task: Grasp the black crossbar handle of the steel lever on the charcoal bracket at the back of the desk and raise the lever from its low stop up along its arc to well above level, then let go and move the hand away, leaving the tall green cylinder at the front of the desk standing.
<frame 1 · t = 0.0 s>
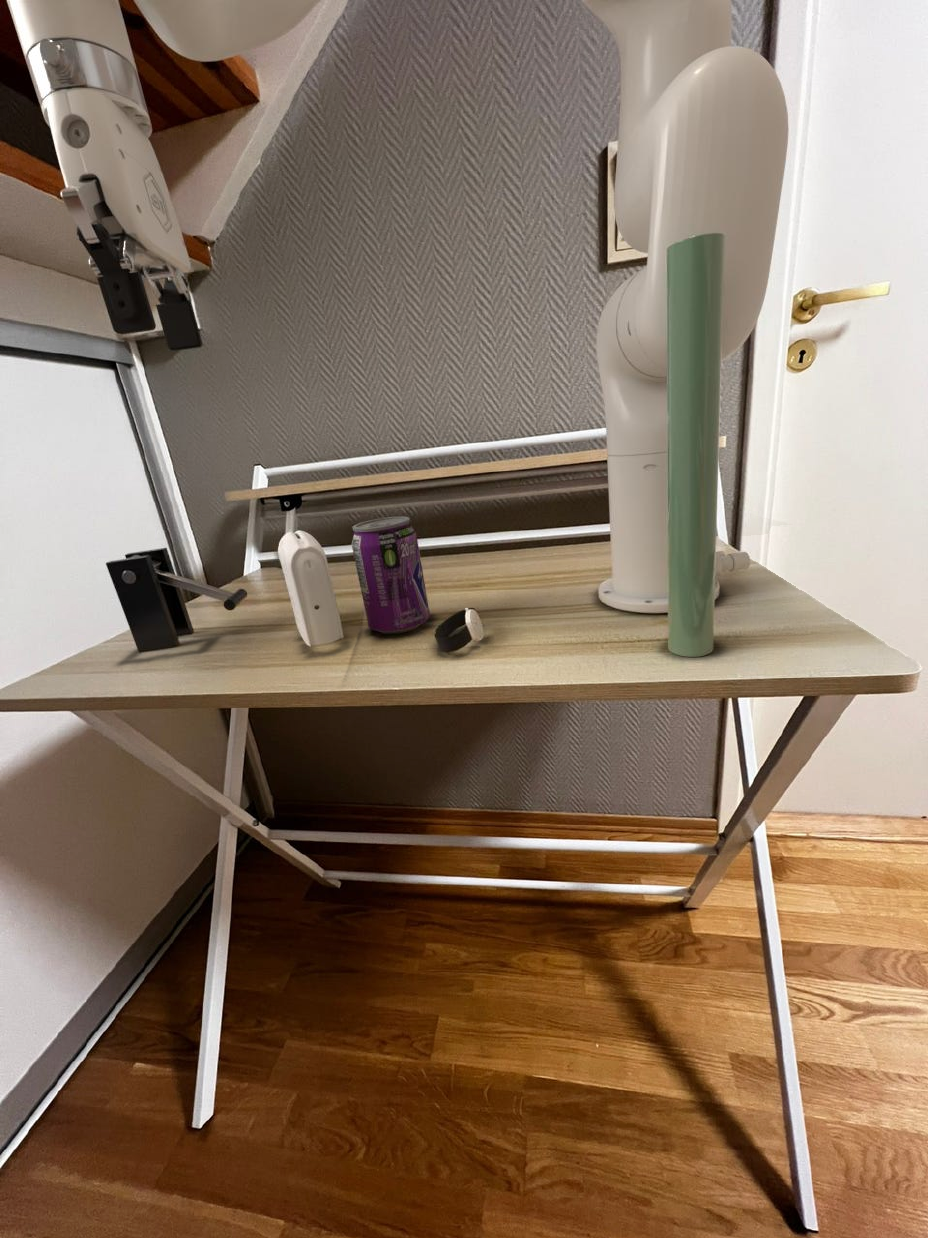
hand: (163, 340, 48), 31 cm above the table, tool pointing down, fingers open, 9 cm apart
beverage can: (400, 627, 62), on the table
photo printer: (322, 640, 61), on the table
watch: (460, 643, 55), on the table
lever: (186, 584, 62), point 8 cm above the table, hinge at -28.0°
bracket: (170, 650, 64), on the table
tall green cylinder: (690, 648, 46), on the table
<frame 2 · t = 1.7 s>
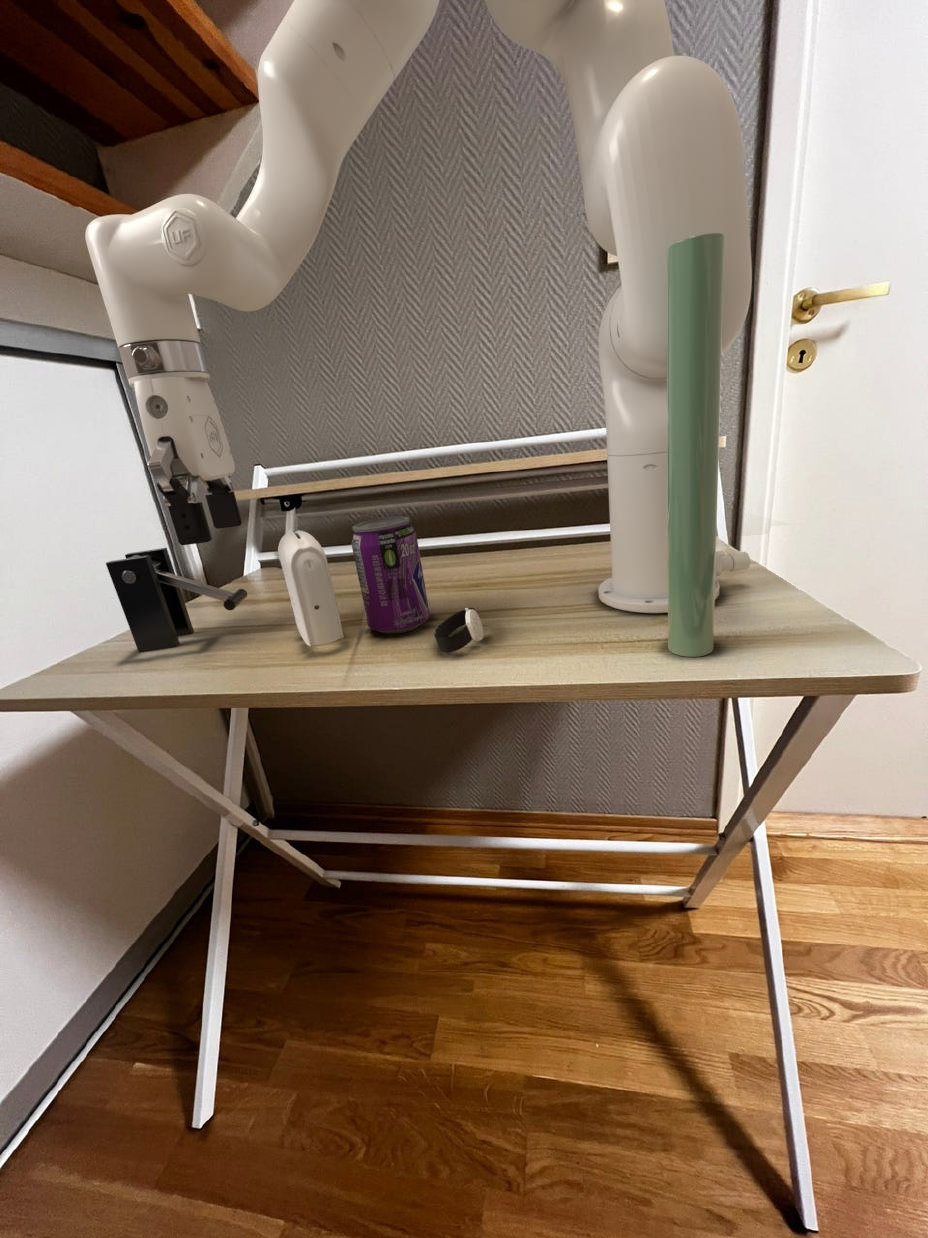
hand: (213, 534, 60), 13 cm above the table, tool pointing down, fingers open, 9 cm apart
nothing on the table moved.
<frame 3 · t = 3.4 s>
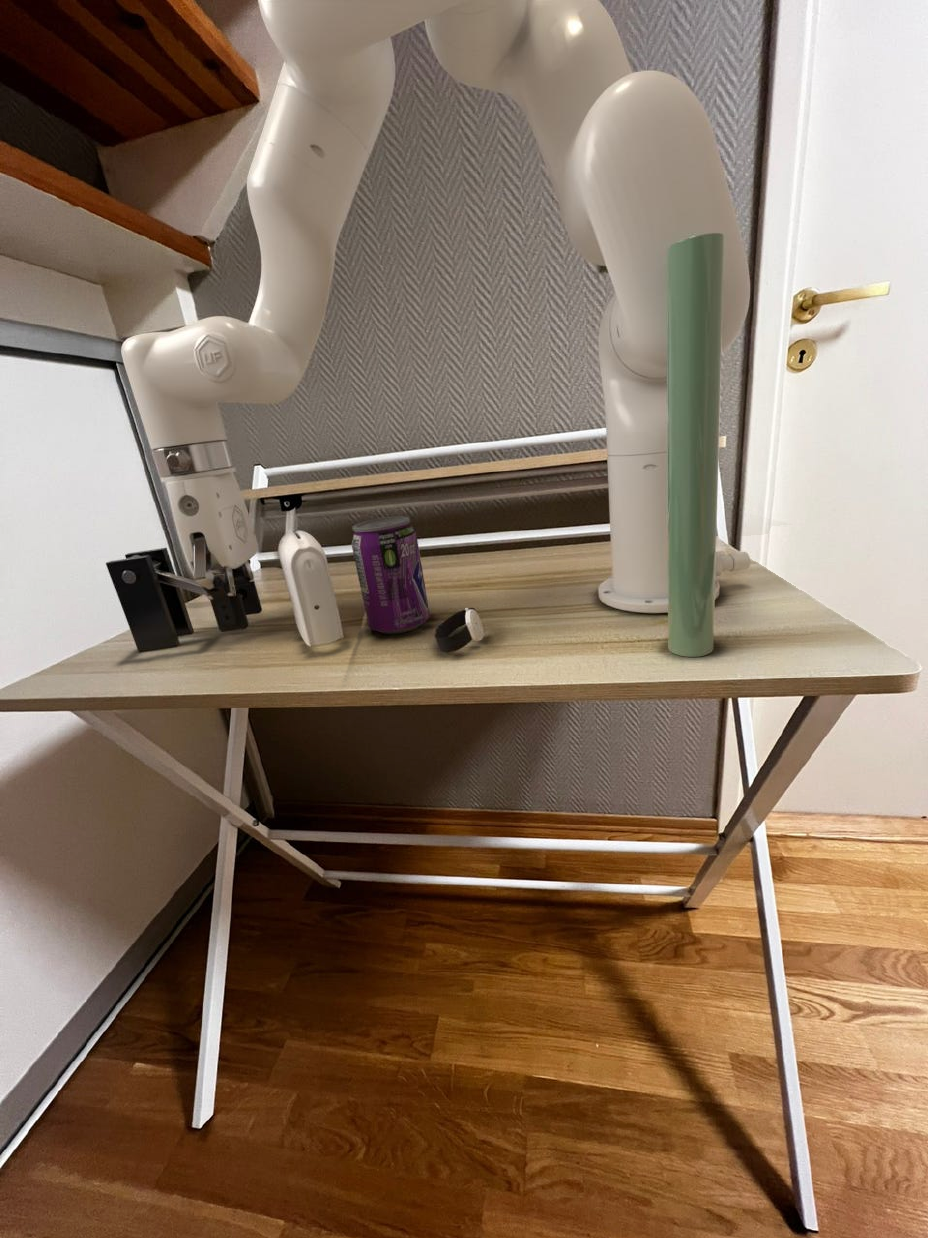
hand: (241, 619, 64), 2 cm above the table, tool pointing down, fingers closed on lever, 4 cm apart
lever: (186, 584, 62), point 8 cm above the table, hinge at -28.0°, touching gripper
everything else where it was.
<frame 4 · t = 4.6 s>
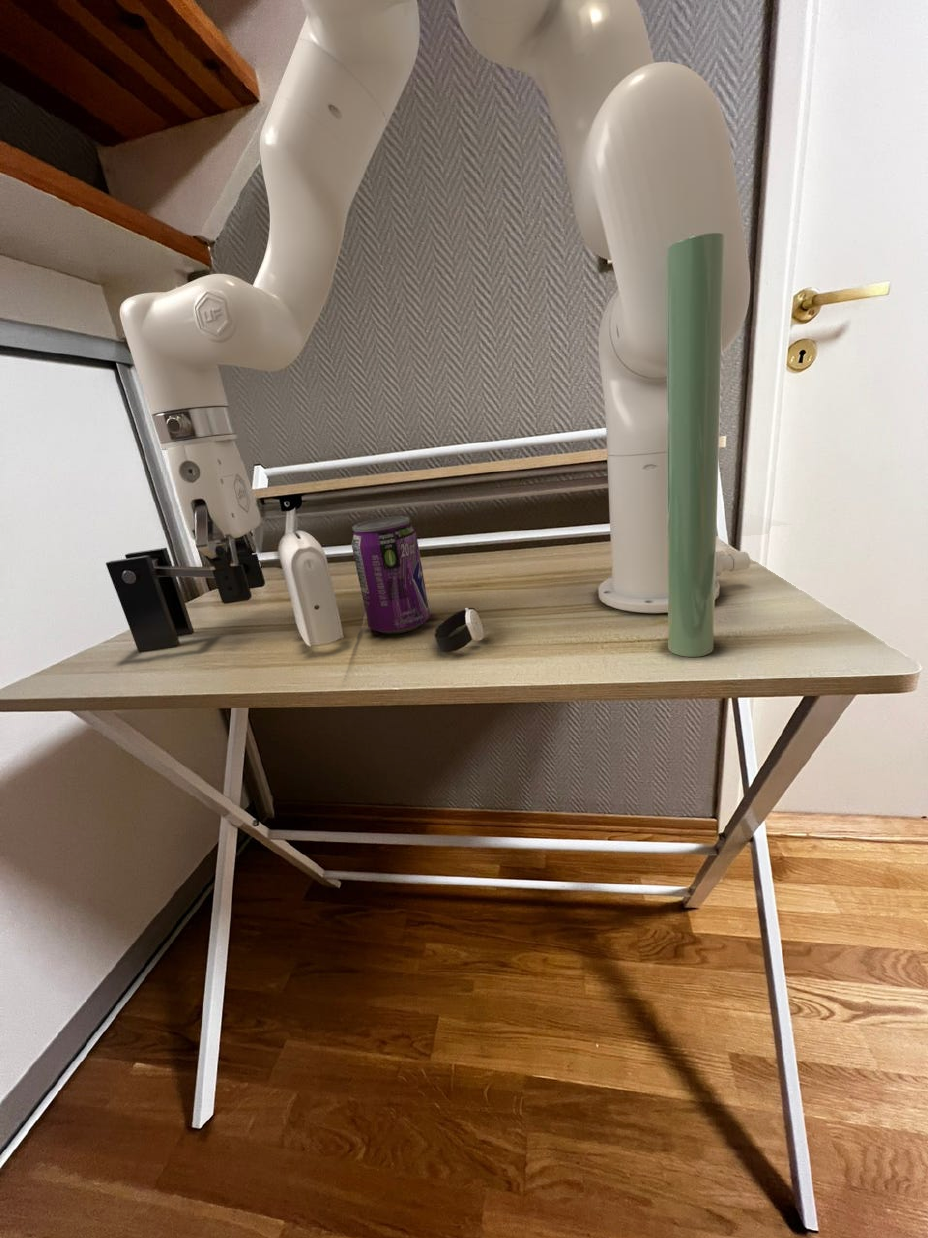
hand: (244, 592, 63), 6 cm above the table, tool pointing down, fingers closed on lever, 4 cm apart
lever: (187, 571, 61), point 9 cm above the table, hinge at -10.4°, touching gripper
everything else where it was.
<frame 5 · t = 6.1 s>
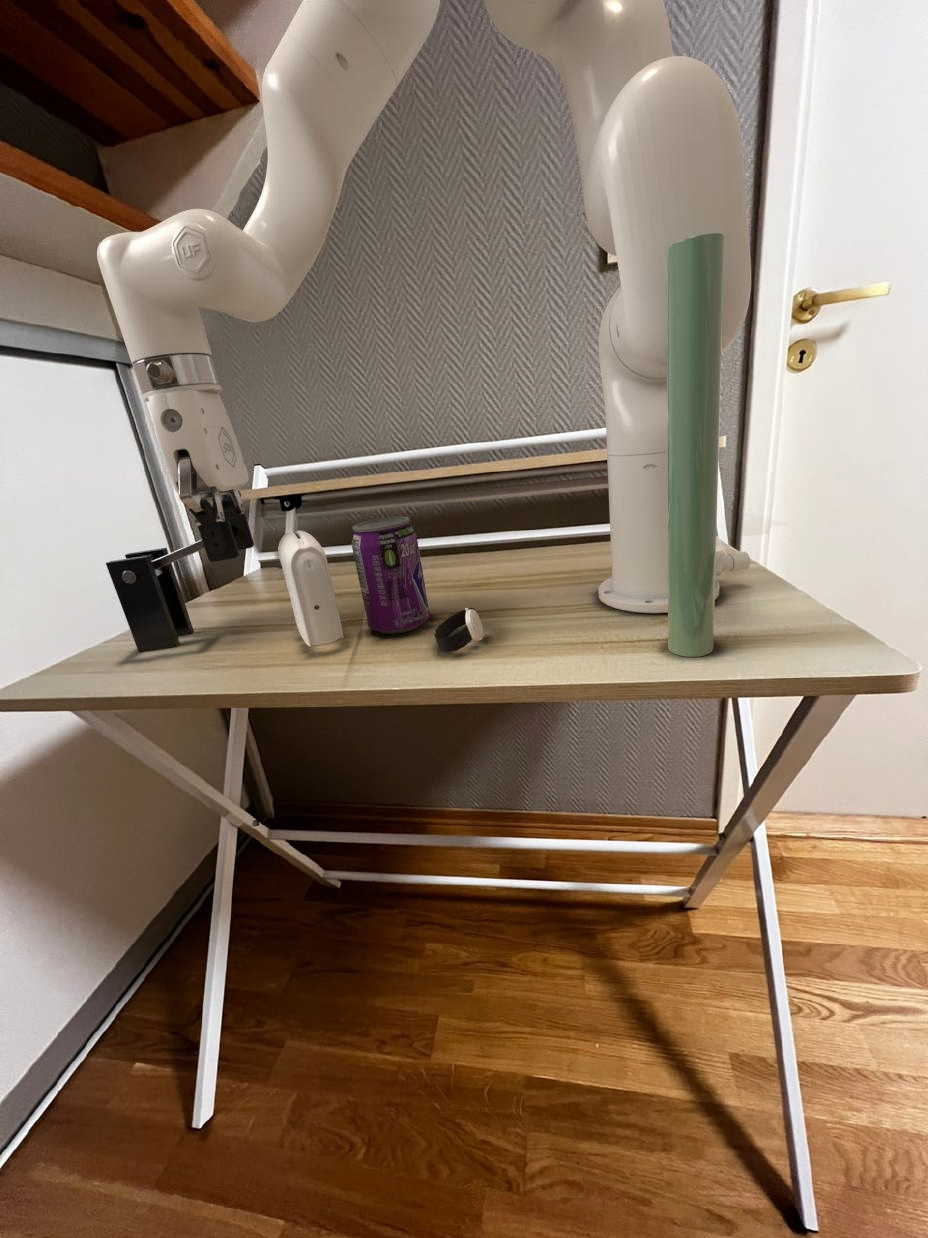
hand: (232, 552, 61), 11 cm above the table, tool pointing down, fingers closed on lever, 4 cm apart
lever: (180, 553, 61), point 11 cm above the table, hinge at 14.6°, touching gripper
everything else where it was.
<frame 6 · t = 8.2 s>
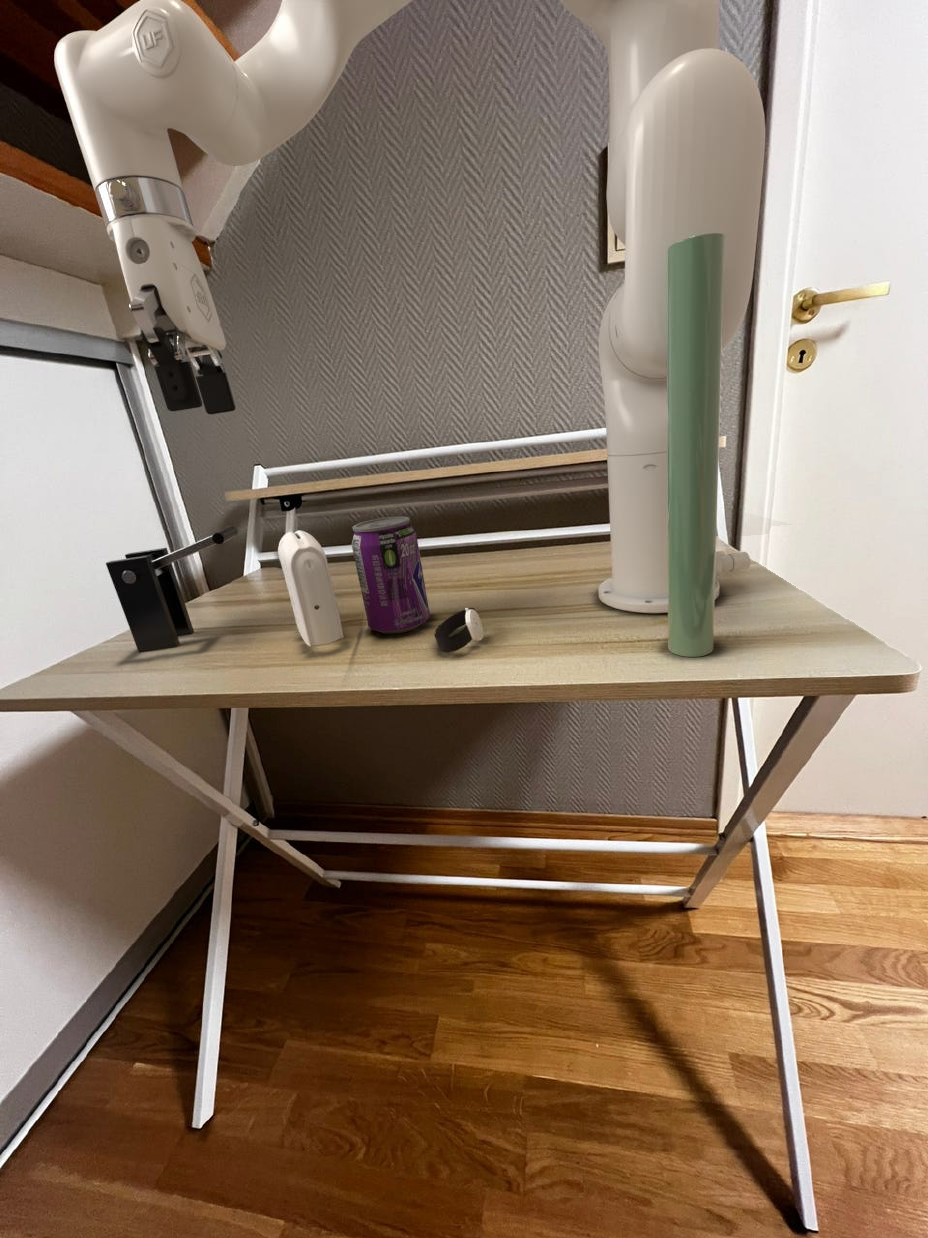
hand: (205, 410, 56), 26 cm above the table, tool pointing down, fingers open, 9 cm apart
lever: (180, 553, 61), point 11 cm above the table, hinge at 14.4°
everything else where it was.
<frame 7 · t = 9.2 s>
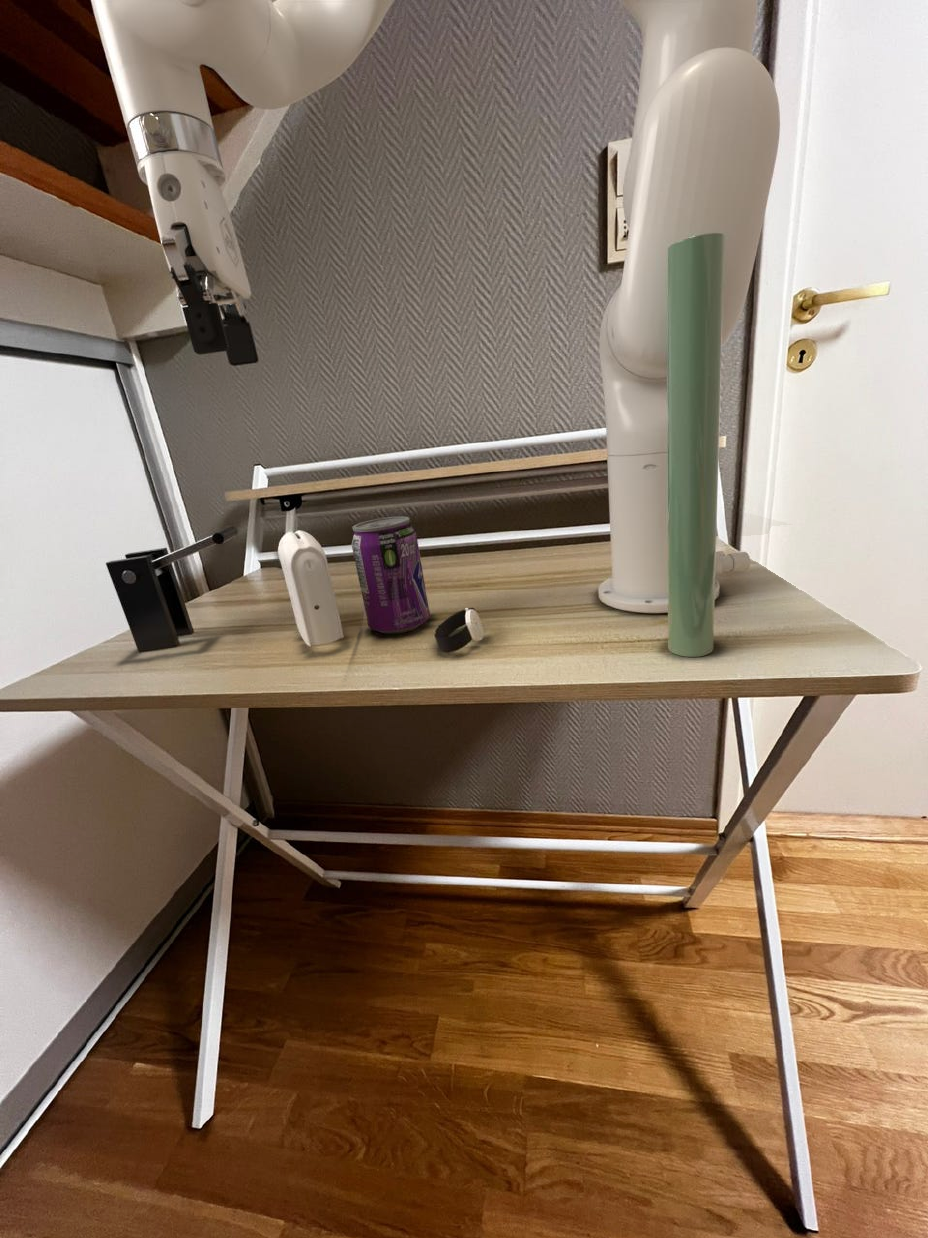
hand: (229, 358, 56), 30 cm above the table, tool pointing down, fingers open, 9 cm apart
nothing on the table moved.
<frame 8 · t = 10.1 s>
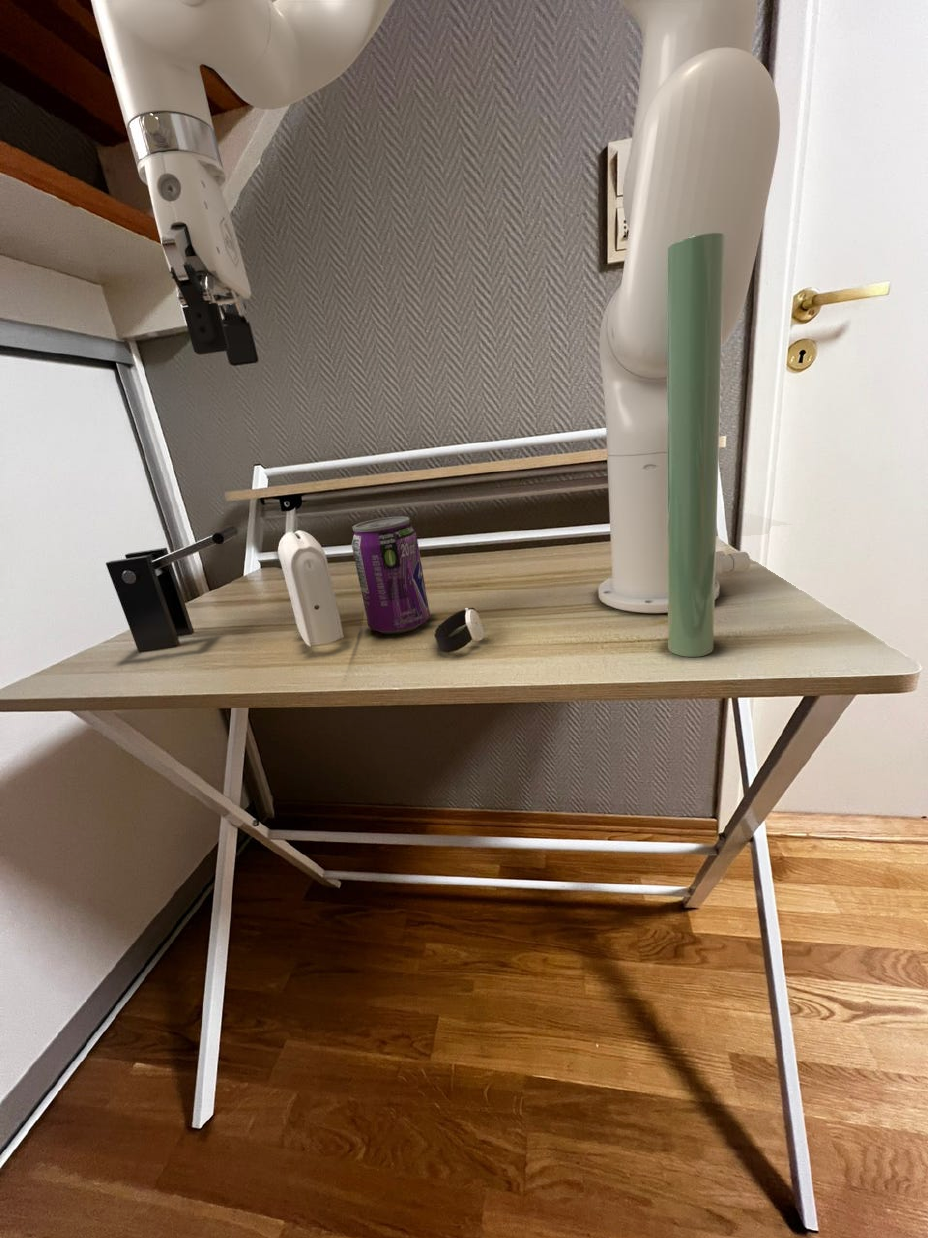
hand: (229, 358, 56), 30 cm above the table, tool pointing down, fingers open, 9 cm apart
nothing on the table moved.
at the end: lever at +14° (first picture: -28°); lever reached -28° during the clip, +14° at the end; tall green cylinder tilted 0° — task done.
